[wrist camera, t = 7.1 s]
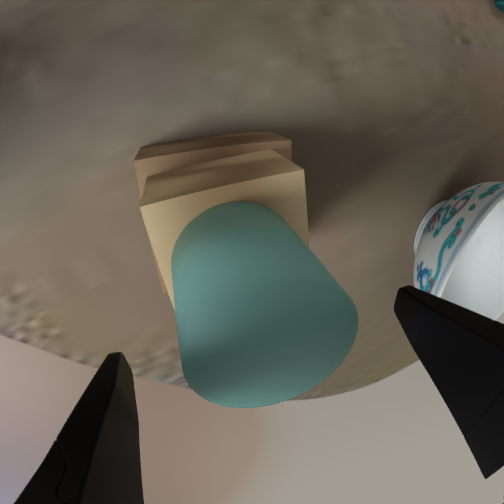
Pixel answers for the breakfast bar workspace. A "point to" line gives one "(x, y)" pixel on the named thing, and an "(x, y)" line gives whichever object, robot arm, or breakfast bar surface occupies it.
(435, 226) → the chinaware
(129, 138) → the breakfast bar surface
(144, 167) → the base block
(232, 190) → the top block
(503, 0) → the crushed plastic bottle
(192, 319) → the teal cylinder
